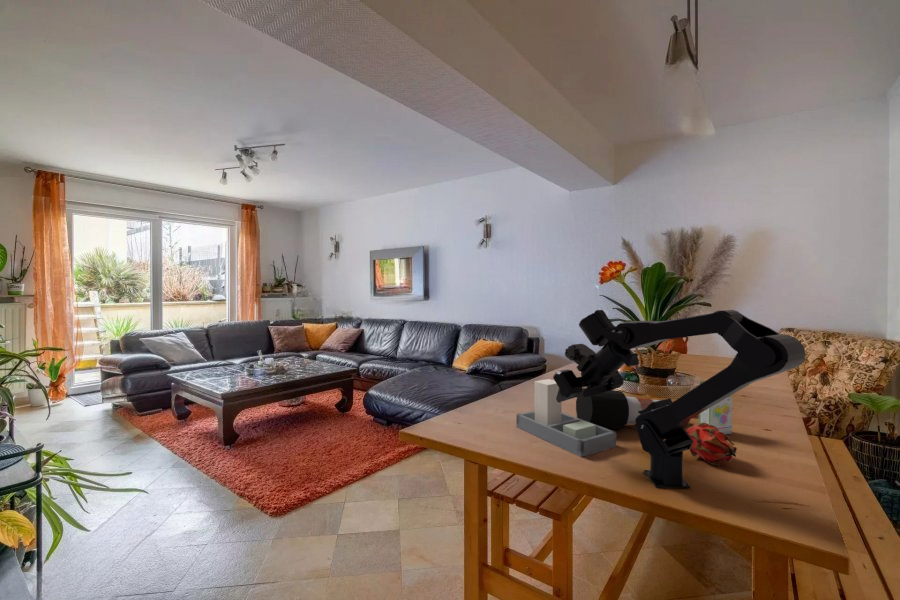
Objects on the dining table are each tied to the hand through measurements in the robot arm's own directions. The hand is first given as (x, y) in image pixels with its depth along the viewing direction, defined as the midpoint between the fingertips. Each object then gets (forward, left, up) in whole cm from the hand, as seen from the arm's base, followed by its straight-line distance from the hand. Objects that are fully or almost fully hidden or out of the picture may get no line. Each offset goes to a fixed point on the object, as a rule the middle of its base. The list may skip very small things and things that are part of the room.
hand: (570, 398), depth 103 cm
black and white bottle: (+12, -22, -11) cm, 27 cm away
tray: (+2, +1, -11) cm, 11 cm away
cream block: (+7, +5, -10) cm, 13 cm away
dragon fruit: (-10, -29, -11) cm, 32 cm away
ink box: (+7, -39, -11) cm, 41 cm away
